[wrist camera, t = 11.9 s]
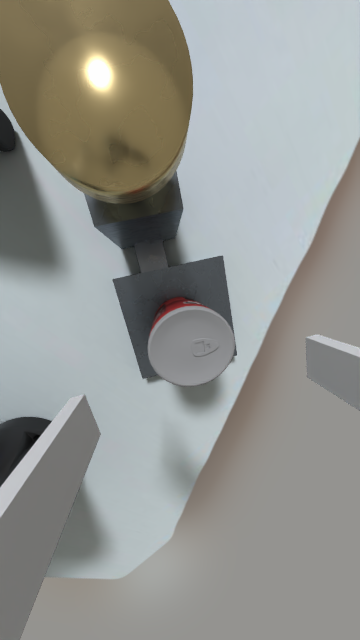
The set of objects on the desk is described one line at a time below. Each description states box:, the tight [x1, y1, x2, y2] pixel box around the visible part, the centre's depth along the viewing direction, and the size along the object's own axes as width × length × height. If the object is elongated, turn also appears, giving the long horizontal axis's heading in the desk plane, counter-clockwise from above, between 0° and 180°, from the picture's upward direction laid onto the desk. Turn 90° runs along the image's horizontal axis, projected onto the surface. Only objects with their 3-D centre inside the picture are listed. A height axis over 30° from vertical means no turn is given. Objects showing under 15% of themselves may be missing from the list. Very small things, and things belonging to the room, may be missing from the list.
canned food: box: [148, 297, 235, 387], centre depth 20 cm, size 8×8×11 cm
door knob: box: [0, 0, 193, 204], centre depth 13 cm, size 9×9×10 cm
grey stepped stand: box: [84, 172, 237, 379], centre depth 21 cm, size 16×28×10 cm, turn 12°
